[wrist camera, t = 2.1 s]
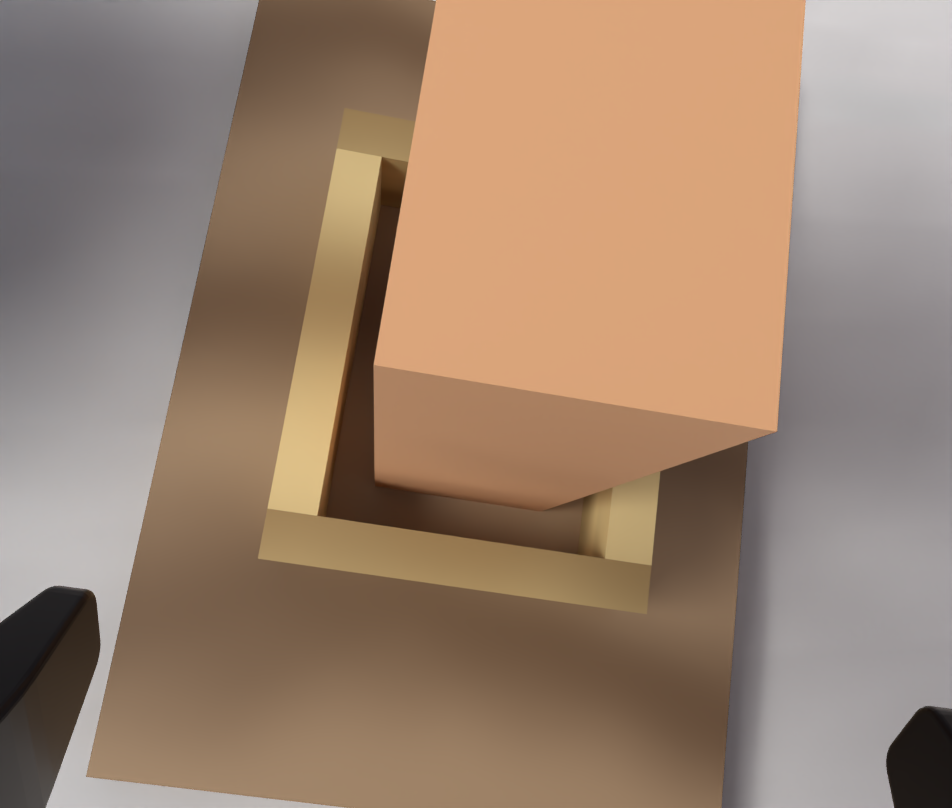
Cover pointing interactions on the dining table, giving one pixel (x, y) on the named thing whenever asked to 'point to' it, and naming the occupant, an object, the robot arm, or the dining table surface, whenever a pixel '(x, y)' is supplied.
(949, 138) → the dining table surface
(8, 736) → the robot arm
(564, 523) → the brown tray
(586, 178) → the c link
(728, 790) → the dining table surface
